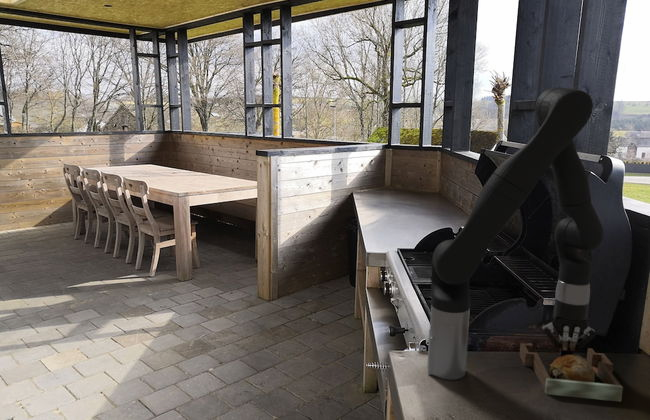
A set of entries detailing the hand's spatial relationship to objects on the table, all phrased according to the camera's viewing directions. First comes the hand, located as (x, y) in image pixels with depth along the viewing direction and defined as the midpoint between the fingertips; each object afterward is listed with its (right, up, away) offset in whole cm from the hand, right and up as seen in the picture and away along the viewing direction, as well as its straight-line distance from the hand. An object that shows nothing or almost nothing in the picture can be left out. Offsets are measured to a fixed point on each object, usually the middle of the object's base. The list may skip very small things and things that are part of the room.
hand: (565, 362), depth 124 cm
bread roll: (-1, -3, -5) cm, 6 cm away
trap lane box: (-1, -2, -4) cm, 5 cm away
